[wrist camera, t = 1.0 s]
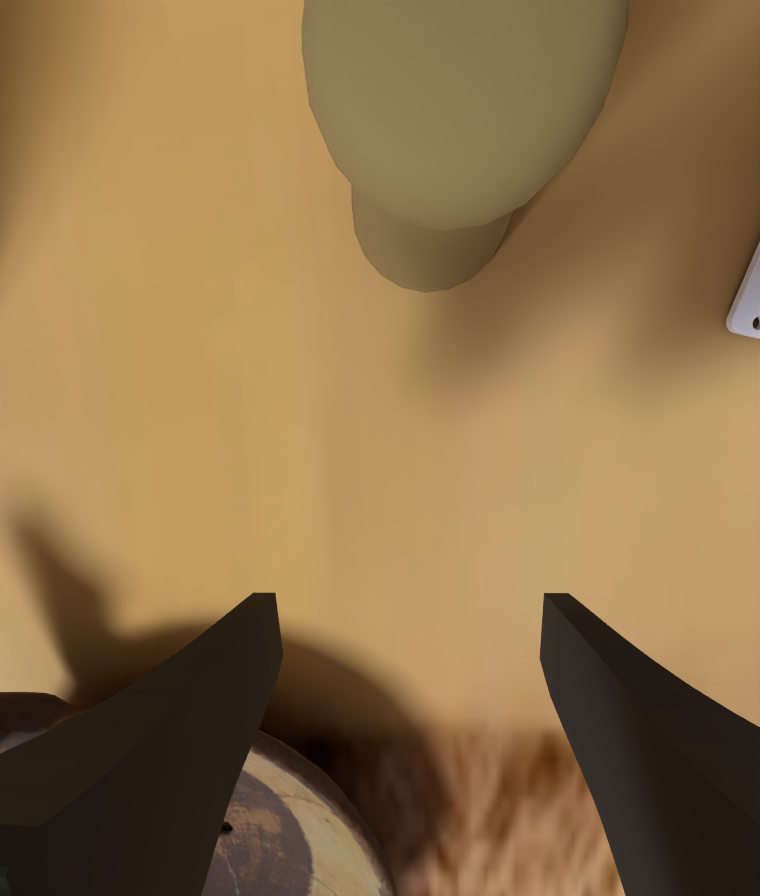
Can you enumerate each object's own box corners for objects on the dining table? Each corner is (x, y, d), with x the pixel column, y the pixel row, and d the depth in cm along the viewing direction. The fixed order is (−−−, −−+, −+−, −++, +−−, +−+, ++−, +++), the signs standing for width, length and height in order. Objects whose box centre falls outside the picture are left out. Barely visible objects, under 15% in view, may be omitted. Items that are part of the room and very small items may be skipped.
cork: (354, 113, 15) (232, -352, 5) (521, 116, 15) (779, -375, 5) (350, 289, 17) (253, 225, 7) (501, 295, 17) (656, 237, 6)
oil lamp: (142, 955, 30) (55, 1157, 23) (-89, 602, 23) (-322, 730, 16) (447, 923, 27) (461, 1145, 20) (288, 503, 20) (217, 604, 13)
